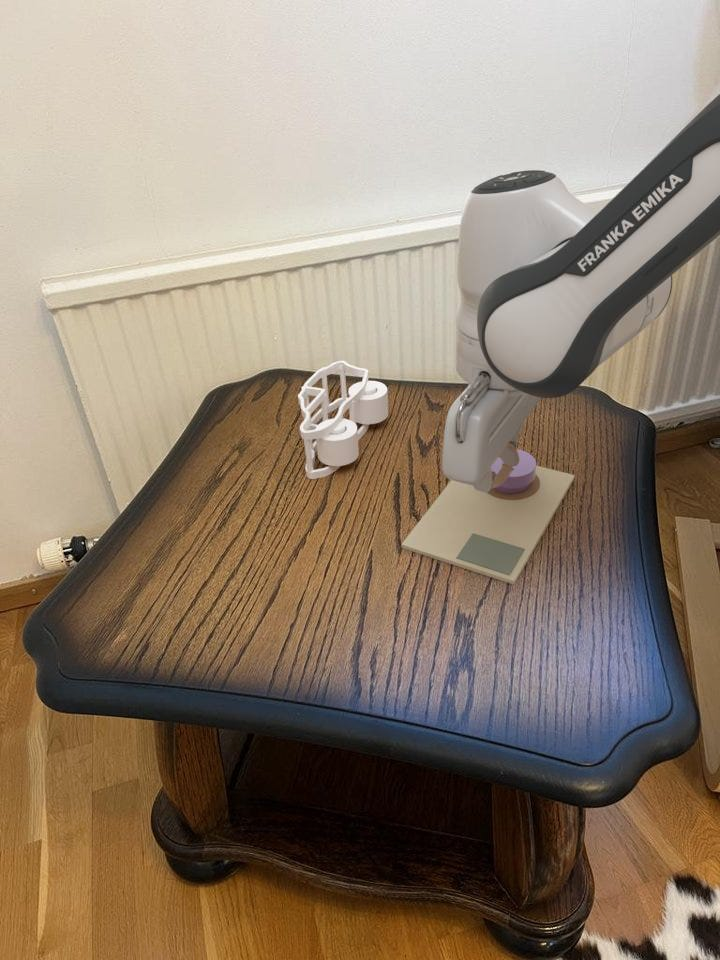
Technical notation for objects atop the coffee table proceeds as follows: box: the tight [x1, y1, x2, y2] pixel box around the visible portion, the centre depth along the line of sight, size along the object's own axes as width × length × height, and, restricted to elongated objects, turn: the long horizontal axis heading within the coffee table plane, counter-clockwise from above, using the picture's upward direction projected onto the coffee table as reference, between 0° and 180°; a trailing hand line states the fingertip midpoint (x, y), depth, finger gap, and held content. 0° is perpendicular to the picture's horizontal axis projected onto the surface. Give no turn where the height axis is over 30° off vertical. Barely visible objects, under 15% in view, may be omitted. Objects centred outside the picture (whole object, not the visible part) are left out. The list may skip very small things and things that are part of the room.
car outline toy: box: [297, 360, 389, 480], centre depth 107 cm, size 20×11×7 cm, turn 157°
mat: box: [400, 465, 576, 585], centre depth 94 cm, size 14×22×1 cm, turn 150°
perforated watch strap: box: [492, 443, 519, 488], centre depth 79 cm, size 3×5×5 cm, turn 133°
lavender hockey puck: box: [491, 448, 537, 493], centre depth 97 cm, size 6×6×3 cm
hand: (495, 470), depth 80 cm, fingers closed on perforated watch strap, 5 cm apart
